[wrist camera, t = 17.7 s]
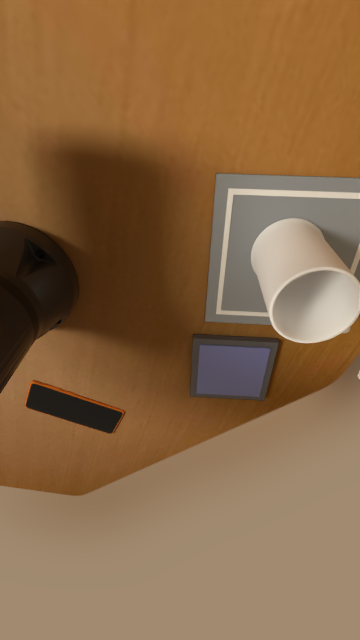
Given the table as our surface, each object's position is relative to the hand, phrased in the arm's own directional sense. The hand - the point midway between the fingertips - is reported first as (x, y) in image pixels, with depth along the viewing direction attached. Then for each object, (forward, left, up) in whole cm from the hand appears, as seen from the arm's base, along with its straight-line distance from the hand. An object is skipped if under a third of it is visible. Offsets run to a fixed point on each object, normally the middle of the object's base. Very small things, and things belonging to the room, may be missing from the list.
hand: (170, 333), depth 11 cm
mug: (+13, -10, -29) cm, 33 cm away
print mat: (+12, -10, -29) cm, 33 cm away
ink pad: (+7, -28, -29) cm, 41 cm away
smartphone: (-19, -40, -29) cm, 53 cm away
